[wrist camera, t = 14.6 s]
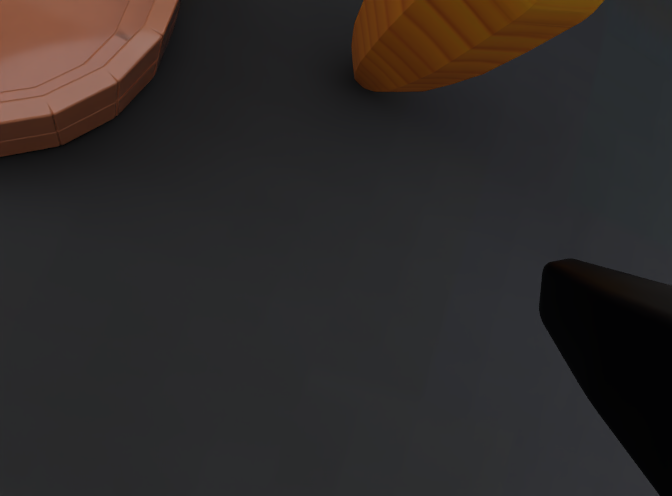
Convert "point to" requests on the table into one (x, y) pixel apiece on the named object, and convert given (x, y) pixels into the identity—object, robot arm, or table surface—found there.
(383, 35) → the carrot
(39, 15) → the bowl
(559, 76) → the table surface
